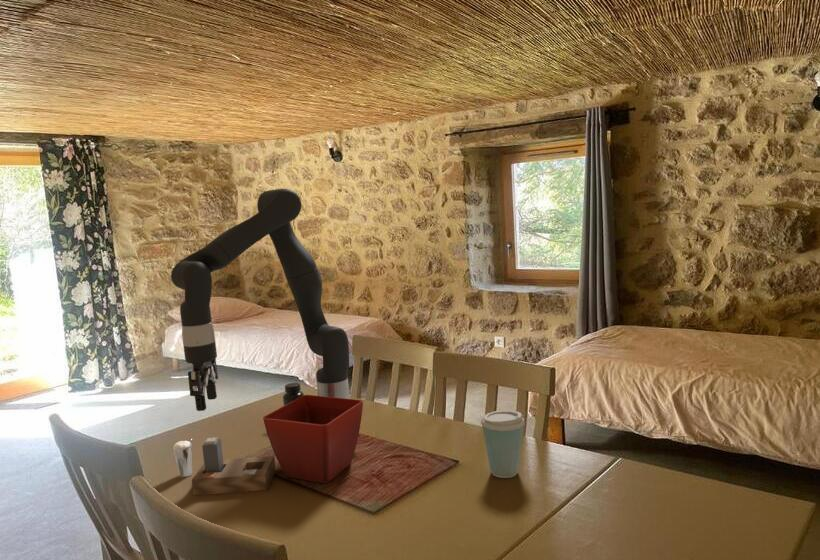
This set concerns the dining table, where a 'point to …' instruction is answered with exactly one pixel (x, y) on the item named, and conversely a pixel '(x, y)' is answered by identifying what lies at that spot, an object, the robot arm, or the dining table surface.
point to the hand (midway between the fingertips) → (207, 404)
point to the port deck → (236, 476)
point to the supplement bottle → (292, 393)
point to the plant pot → (315, 436)
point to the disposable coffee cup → (503, 441)
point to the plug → (213, 455)
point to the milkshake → (183, 458)
